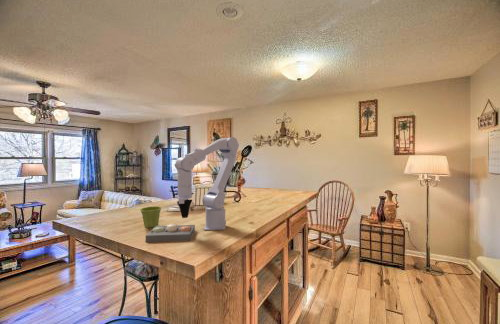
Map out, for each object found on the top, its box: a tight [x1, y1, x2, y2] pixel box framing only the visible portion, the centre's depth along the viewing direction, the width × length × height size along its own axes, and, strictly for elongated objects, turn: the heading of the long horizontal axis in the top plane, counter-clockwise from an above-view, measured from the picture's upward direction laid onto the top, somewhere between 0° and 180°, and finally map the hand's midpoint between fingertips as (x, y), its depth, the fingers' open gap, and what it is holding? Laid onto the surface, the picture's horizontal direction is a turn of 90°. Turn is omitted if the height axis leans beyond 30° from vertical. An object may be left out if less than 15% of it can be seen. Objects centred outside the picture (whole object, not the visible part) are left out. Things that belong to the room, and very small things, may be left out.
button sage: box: [152, 227, 164, 232], centre depth 94 cm, size 4×4×3 cm
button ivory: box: [166, 223, 178, 232], centre depth 95 cm, size 4×4×3 cm
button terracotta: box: [180, 226, 190, 232], centre depth 95 cm, size 4×4×3 cm
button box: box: [145, 224, 196, 243], centre depth 95 cm, size 17×12×3 cm
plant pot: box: [139, 205, 162, 229], centre depth 108 cm, size 9×9×9 cm
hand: (185, 217), depth 96 cm, fingers closed
